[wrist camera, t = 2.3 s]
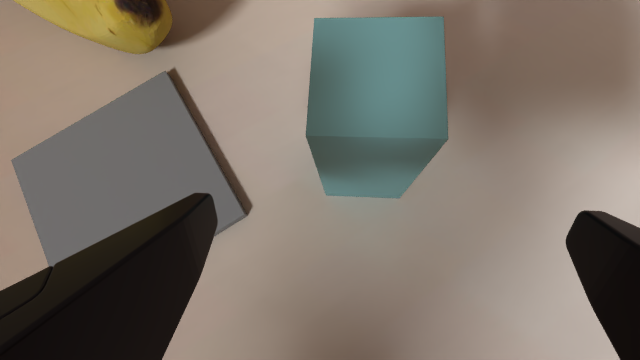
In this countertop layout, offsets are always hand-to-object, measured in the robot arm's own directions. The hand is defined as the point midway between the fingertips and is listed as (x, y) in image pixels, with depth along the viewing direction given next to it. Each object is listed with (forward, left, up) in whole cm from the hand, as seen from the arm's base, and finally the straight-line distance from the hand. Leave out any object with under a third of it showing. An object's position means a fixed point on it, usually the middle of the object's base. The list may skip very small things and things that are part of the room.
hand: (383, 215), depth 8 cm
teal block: (+4, -3, -12) cm, 13 cm away
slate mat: (+11, +11, -11) cm, 20 cm away
